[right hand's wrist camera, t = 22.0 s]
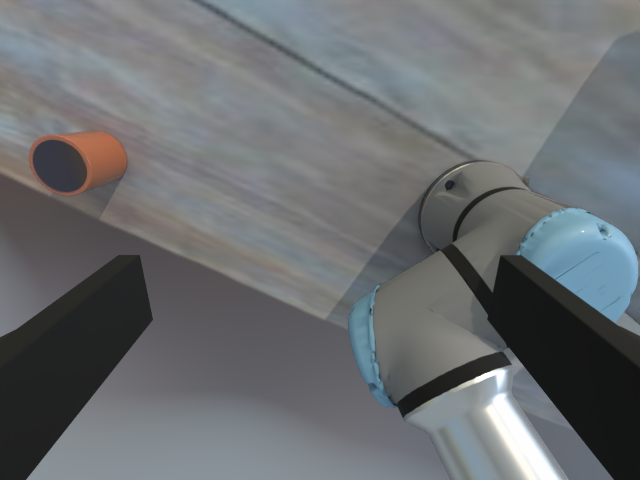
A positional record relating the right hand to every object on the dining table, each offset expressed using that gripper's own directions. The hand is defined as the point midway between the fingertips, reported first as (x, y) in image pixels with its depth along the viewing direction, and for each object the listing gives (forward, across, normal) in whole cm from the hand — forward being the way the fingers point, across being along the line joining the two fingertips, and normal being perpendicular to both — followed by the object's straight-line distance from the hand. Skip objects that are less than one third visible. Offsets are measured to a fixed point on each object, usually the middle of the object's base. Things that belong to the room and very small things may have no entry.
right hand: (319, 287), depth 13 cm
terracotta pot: (+37, +30, 0) cm, 47 cm away
